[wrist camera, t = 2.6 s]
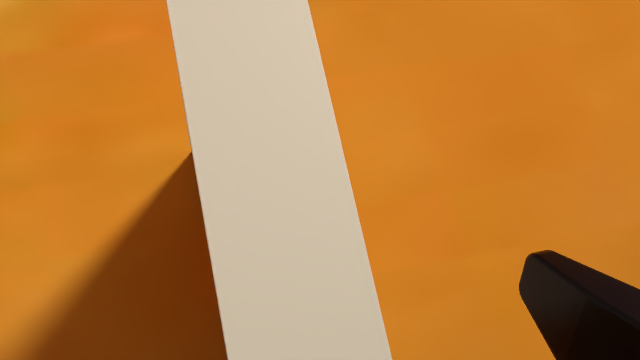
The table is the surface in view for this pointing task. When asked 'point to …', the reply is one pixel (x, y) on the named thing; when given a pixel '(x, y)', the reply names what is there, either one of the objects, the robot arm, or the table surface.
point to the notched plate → (274, 184)
